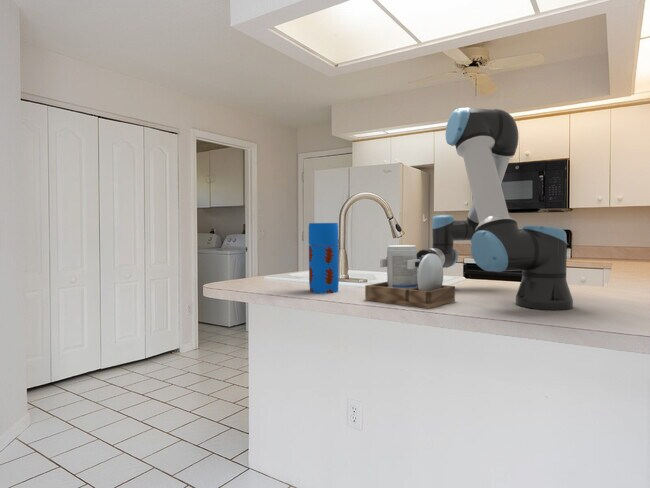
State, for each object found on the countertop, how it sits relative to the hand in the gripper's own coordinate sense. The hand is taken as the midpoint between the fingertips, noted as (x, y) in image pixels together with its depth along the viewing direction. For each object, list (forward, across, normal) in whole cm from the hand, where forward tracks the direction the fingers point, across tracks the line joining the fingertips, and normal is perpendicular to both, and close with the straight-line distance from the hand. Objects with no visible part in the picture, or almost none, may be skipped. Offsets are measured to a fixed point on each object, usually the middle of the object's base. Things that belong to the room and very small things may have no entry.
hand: (394, 264), depth 142 cm
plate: (-3, -11, -10) cm, 16 cm away
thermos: (-1, +32, -12) cm, 34 cm away
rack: (-3, -3, -12) cm, 13 cm away
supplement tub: (-4, 0, -9) cm, 10 cm away
